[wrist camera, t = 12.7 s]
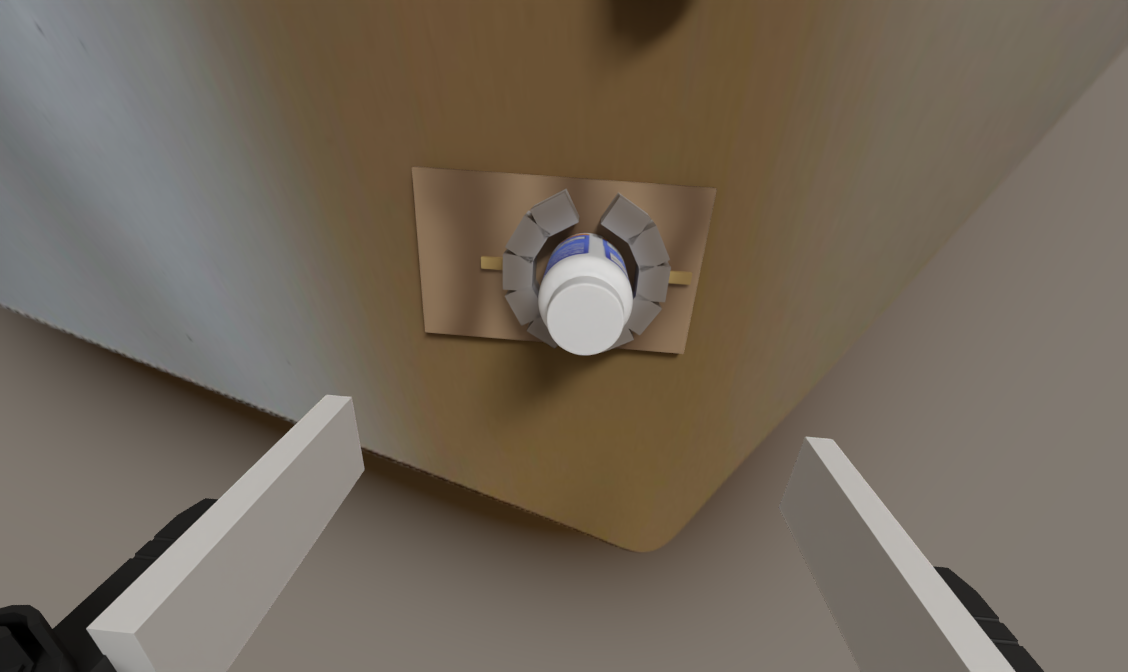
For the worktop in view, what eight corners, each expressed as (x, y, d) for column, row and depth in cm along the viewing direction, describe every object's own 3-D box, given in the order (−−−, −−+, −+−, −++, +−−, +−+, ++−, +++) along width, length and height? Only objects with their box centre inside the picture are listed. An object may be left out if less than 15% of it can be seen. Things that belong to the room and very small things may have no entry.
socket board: (428, 328, 34) (414, 344, 32) (416, 166, 29) (397, 169, 27) (681, 349, 34) (689, 367, 31) (713, 187, 29) (726, 193, 26)
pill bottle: (542, 296, 32) (522, 357, 23) (556, 223, 29) (540, 259, 21) (614, 312, 32) (622, 378, 23) (634, 240, 30) (651, 284, 21)
